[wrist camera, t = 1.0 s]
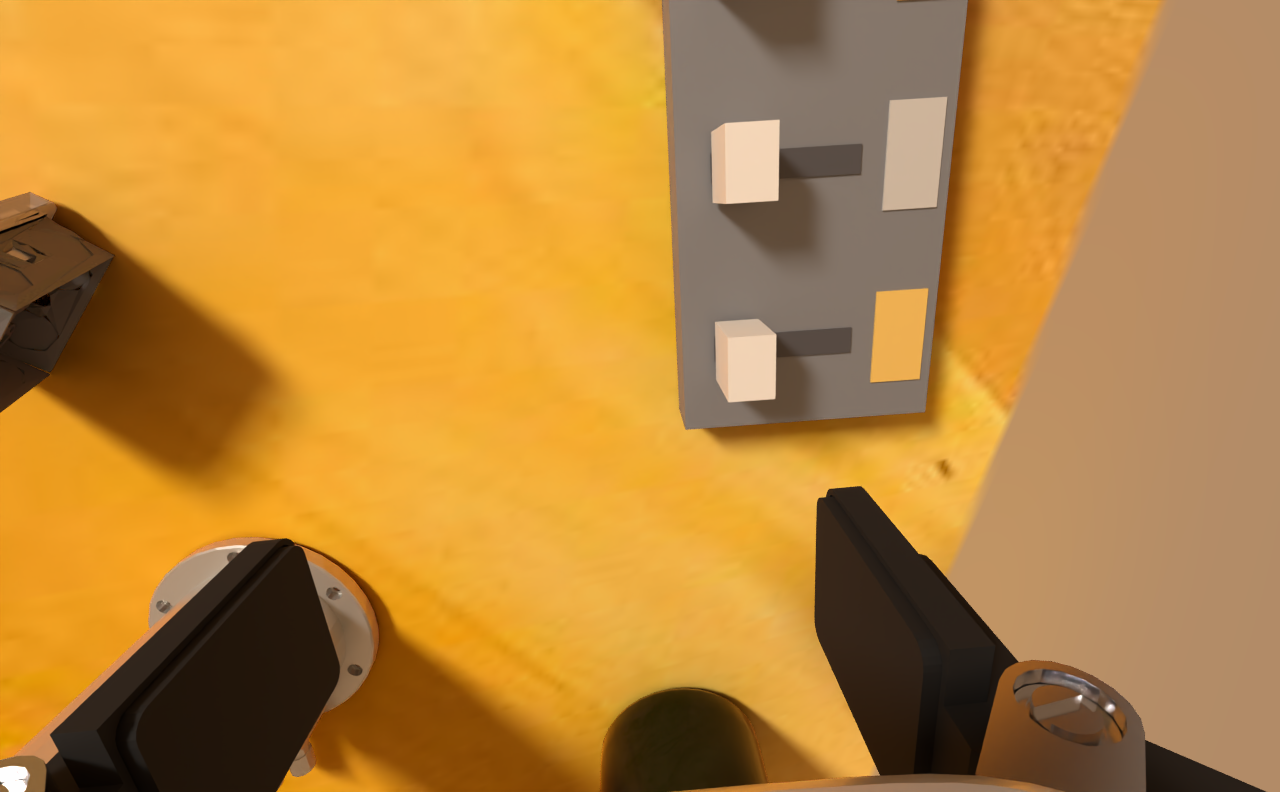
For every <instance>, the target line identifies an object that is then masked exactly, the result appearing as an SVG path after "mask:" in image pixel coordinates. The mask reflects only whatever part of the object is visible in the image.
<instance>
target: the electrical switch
mask: <svg viewBox="0 0 1280 792" xmlns="http://www.w3.org/2000/svg"><path fill="white" fill-rule="evenodd" d="M56 210H57V207H56V205H55V204H54V203H53V202H51V201H49V200H46V199H44V198H42V197H40V196H38V195H35V194H33V193H31V192H29V193H25V194H22V195H19V196H15V197H12V198H9V199H5V200H2V201H0V412H2V411H3V410H4V409H6V408H7V407H8V406H10V405H11V404H12V403H14V402H15V401H16V400H17V399H19V398H20V397H21V396H23V395H24V394H25V393H27V392H28V391H29V390H31V389H32V388H33V387H35V386H36V385H37V384H38V383H40V382H41V381H42V380H44V379H45V378H46V377H48V376H49V375H50V374H48V373H46V372H44V371H42V370H39V369H37V368H40V369H43V370H45V371H48V372H51V371H52V369H53V367H54V365H55V364H56V362H57V360H58V358H59V356H60V354H61V352H62V351H63V349H64V347H65V345H66V343H67V341H68V340H69V338H70V336H71V334H72V332H73V330H74V329H75V327H76V325H77V323H78V321H79V319H80V317H81V316H82V314H83V312H84V310H85V308H86V306H87V305H88V303H89V301H90V299H91V297H92V295H93V294H94V292H95V290H96V288H97V286H98V284H99V282H100V281H101V279H102V277H103V275H104V273H105V271H106V270H107V268H108V266H109V264H110V262H111V260H112V259H113V257H114V256H115V255H113V254H111V253H109V252H107V251H105V250H103V249H101V248H99V247H97V246H95V245H93V244H91V243H89V242H87V241H85V240H84V239H83V238H81V237H80V236H78V235H77V234H76V233H74V232H73V231H71V230H69V229H67V228H65V227H62V226H60V225H59V224H57V223H56V222H54V221H53V220H52V218H53V216H54V214H55V212H56ZM89 272H90V274H91V277H90V276H89ZM81 286H82V287H81ZM79 287H81V288H80V289H79V290H75V289H77V288H79ZM57 288H60V289H65V290H59V289H57ZM46 294H49V295H50V300H51V302H50V303H49V304H48V305H47V306H42V305H38V304H35V303H31V302H33V301H35V300H37V299H38V298H40V297H42V296H44V295H46ZM24 309H26V310H28V311H30V312H28V311H25V310H24ZM43 316H47V318H48V320H49V321H50V322H49V321H48V320H47V319H46V318H45V317H43ZM58 335H59V338H58V339H57V337H58ZM35 349H36V350H35ZM39 350H42V351H39ZM26 363H27V364H26ZM28 364H29V365H28ZM30 365H32V366H30ZM33 366H35V367H37V368H35V367H33Z"/></svg>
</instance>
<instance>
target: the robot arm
mask: <svg viewBox="0 0 1280 792" xmlns="http://www.w3.org/2000/svg"><path fill="white" fill-rule="evenodd" d="M148 622H149V628H150V629H149V630H148V631H147V632H146V633H145V634H144V635H143V636H142V637H141V638H140V639H138V640H137V641H136V642H135V643H134V644H133V645H132V646H131V647H130V648H129V649H128V650H127V651H126V652H125V653H123V654H122V655H121V656H120V657H119V658H118V659H117V660H116V661H115V662H114V663H113V664H112V665H111V666H110V667H109V668H107V669H106V670H105V671H104V672H103V673H102V674H101V675H100V676H99V677H98V678H97V679H96V680H95V681H94V682H92V683H91V684H90V685H89V686H88V687H87V688H86V689H85V690H84V691H83V692H82V693H81V694H80V695H79V696H78V697H76V698H75V699H74V700H73V701H72V702H71V703H70V704H69V705H68V706H67V707H66V708H65V709H64V710H63V711H61V712H60V713H59V714H58V715H57V716H56V717H55V718H54V719H53V720H52V721H51V722H50V723H49V724H48V725H47V726H45V727H44V728H43V729H42V730H41V731H40V732H39V733H38V734H37V735H36V736H35V737H34V738H33V739H32V740H30V741H29V742H28V743H27V744H26V745H25V746H24V747H23V748H22V749H21V750H20V751H19V752H18V753H17V754H16V755H14V756H13V757H11V758H7V759H3V760H0V792H276V791H277V790H278V788H279V787H280V786H281V785H282V783H283V781H284V778H285V776H286V774H287V772H288V770H289V769H290V772H291V774H292V775H293V776H296V777H299V776H303V775H305V774H307V773H308V772H310V771H311V770H312V769H313V767H314V766H315V764H316V757H315V754H314V751H313V748H312V745H311V744H310V742H309V740H308V739H309V737H310V735H311V734H312V732H313V730H314V728H315V726H316V725H317V723H318V721H319V719H320V718H321V716H322V714H323V713H324V712H327V711H330V710H332V709H334V708H335V707H337V706H339V705H340V704H342V703H344V702H345V701H347V700H348V699H349V698H350V697H351V696H352V695H353V694H354V693H355V692H356V691H357V690H358V689H359V688H360V686H361V685H362V683H363V682H364V680H365V679H366V678H367V676H368V674H369V672H370V670H371V668H372V665H373V663H374V661H375V659H376V655H377V650H378V646H379V628H378V624H377V620H376V616H375V612H374V610H373V608H372V606H371V604H370V602H369V600H368V598H367V596H366V595H365V594H364V592H363V591H362V590H361V588H360V587H359V586H358V584H357V583H356V582H355V581H354V580H353V579H352V578H351V577H350V576H349V575H348V574H347V573H346V572H345V571H343V570H342V569H341V568H340V567H339V566H337V565H336V564H334V563H333V562H331V561H330V560H328V559H327V558H325V557H323V556H322V555H320V554H318V553H315V552H313V551H311V550H309V549H307V548H304V547H302V546H299V545H296V544H294V543H293V542H292V541H291V540H289V539H287V538H286V539H268V538H260V537H250V538H233V539H228V540H223V541H219V542H215V543H212V544H210V545H207V546H205V547H202V548H200V549H198V550H196V551H194V552H193V553H192V554H190V555H189V556H187V557H186V558H184V559H183V560H181V561H180V562H179V563H178V564H177V565H176V566H175V567H174V568H173V569H171V570H170V571H169V572H168V573H167V574H166V575H165V576H164V578H163V579H162V580H161V582H160V583H159V585H158V586H157V588H156V589H155V591H154V594H153V596H152V599H151V602H150V608H149V620H148ZM815 628H816V633H817V636H818V639H819V642H820V644H821V646H822V648H823V650H824V653H825V655H826V657H827V659H828V661H829V664H830V666H831V668H832V670H833V672H834V675H835V677H836V679H837V681H838V684H839V686H840V688H841V690H842V692H843V695H844V697H845V699H846V701H847V703H848V706H849V708H850V710H851V712H852V714H853V717H854V719H855V721H856V723H857V725H858V728H859V730H860V732H861V734H862V736H863V739H864V741H865V743H866V745H867V748H868V750H869V752H870V754H871V756H872V759H873V761H874V763H875V765H876V767H877V770H878V772H879V774H880V776H862V777H846V778H831V779H819V780H807V781H794V782H780V783H766V784H754V785H742V786H731V787H720V788H709V789H698V790H687V791H676V792H1265V791H1263V790H1260V789H1259V788H1256V787H1254V786H1251V785H1249V784H1247V783H1245V782H1242V781H1240V780H1238V779H1235V778H1233V777H1231V776H1228V775H1226V774H1224V773H1221V772H1219V771H1216V770H1214V769H1212V768H1209V767H1207V766H1205V765H1202V764H1200V763H1198V762H1195V761H1193V760H1191V759H1188V758H1186V757H1184V756H1181V755H1179V754H1177V753H1174V752H1172V751H1170V750H1167V749H1165V748H1163V747H1160V746H1158V745H1156V744H1153V743H1151V742H1148V741H1146V740H1145V732H1144V728H1143V725H1142V721H1141V718H1140V717H1139V715H1138V714H1137V713H1136V711H1135V710H1134V708H1133V707H1132V705H1131V704H1130V703H1129V702H1128V701H1127V700H1126V699H1125V698H1124V697H1123V696H1121V695H1120V694H1119V693H1118V692H1117V691H1116V690H1115V689H1114V688H1112V687H1110V686H1109V685H1107V684H1106V683H1104V682H1103V681H1101V680H1099V679H1098V678H1096V677H1094V676H1093V675H1090V674H1088V673H1086V672H1083V671H1081V670H1079V669H1076V668H1074V667H1071V666H1067V665H1063V664H1059V663H1056V662H1052V661H1038V660H1030V661H1024V662H1018V661H1017V660H1016V659H1015V657H1014V656H1013V655H1012V654H1011V653H1010V651H1009V650H1008V649H1007V648H1006V647H1005V646H1004V645H1003V643H1002V642H1001V641H1000V640H999V639H998V637H996V635H995V634H994V633H993V632H992V630H991V629H990V628H989V627H988V626H987V625H986V623H985V622H984V621H983V620H982V619H981V618H980V616H979V615H978V614H977V613H976V612H975V611H974V609H973V608H972V607H971V606H970V605H969V604H968V602H967V601H966V600H965V599H964V598H963V597H962V595H961V594H960V593H959V592H958V591H957V590H956V588H955V587H954V586H953V585H952V584H951V583H950V581H949V580H948V579H947V578H946V577H945V576H944V574H943V573H942V572H941V571H940V570H939V569H938V567H937V566H936V565H935V564H934V563H933V562H932V561H931V560H930V559H929V558H928V557H927V556H925V555H922V554H918V553H917V551H916V550H915V549H914V548H913V547H912V545H911V544H910V543H909V542H908V541H907V539H906V538H905V537H904V536H903V535H902V534H901V532H900V531H899V530H898V529H897V528H896V526H895V525H894V524H893V523H892V522H891V520H890V519H889V518H888V517H887V516H886V514H885V513H884V512H883V511H882V510H881V508H880V507H879V506H878V505H877V504H876V502H875V501H874V500H873V499H872V498H871V496H870V495H869V494H868V493H867V492H866V491H865V489H864V488H862V487H861V486H857V487H846V488H835V489H829V490H828V492H827V495H826V497H824V498H819V499H818V501H817V522H816V570H815Z"/></svg>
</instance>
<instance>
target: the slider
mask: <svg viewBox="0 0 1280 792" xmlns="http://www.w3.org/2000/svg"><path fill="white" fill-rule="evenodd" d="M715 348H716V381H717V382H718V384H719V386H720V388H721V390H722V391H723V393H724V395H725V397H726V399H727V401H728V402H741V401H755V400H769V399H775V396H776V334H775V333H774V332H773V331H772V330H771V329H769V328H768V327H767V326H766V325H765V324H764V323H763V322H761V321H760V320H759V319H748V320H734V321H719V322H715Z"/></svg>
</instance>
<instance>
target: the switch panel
mask: <svg viewBox="0 0 1280 792" xmlns="http://www.w3.org/2000/svg"><path fill="white" fill-rule="evenodd" d="M967 4H968V0H662V10H663V34H664V57H665V81H666V105H667V128H668V152H669V176H670V199H671V223H672V247H673V270H674V294H675V318H676V342H677V365H678V389H679V409H680V413H681V416H682V419H683V422H684V426H685V429H686V430H687V429H700V428H714V427H728V426H742V425H755V424H769V423H783V422H796V421H810V420H824V419H837V418H851V417H865V416H879V415H892V414H906V413H920V412H925V408H926V398H927V389H928V379H929V369H930V360H931V350H932V340H933V331H934V321H935V312H936V302H937V292H938V283H939V273H940V264H941V254H942V244H943V235H944V225H945V215H946V206H947V196H948V187H949V177H950V167H951V158H952V148H953V139H954V129H955V119H956V110H957V100H958V90H959V81H960V71H961V62H962V52H963V42H964V33H965V23H966V14H967ZM766 120H780V126H779V193H778V201H764V202H749V203H734V204H720V203H713V198H712V148H711V132H712V131H713V130H715V129H717V128H718V127H720V126H721V125H723V124H724V123H734V122H750V121H766ZM748 319H759V320H760V321H761V322H763V323H764V324H765V325H766V326H767V327H768V328H769V329H771V330H772V331H773V332H774V333H775V334H776V396H775V399H769V400H755V401H741V402H728V401H727V399H726V397H725V395H724V393H723V391H722V390H721V388H720V386H719V384H718V382H717V381H716V348H715V322H719V321H734V320H748Z"/></svg>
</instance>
